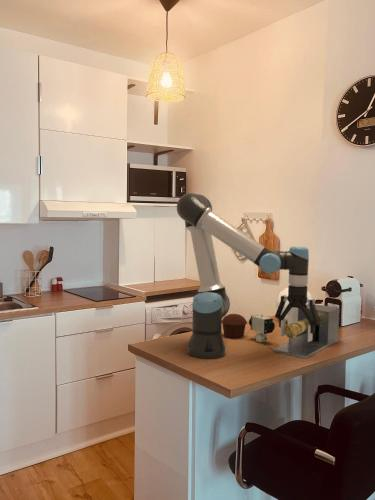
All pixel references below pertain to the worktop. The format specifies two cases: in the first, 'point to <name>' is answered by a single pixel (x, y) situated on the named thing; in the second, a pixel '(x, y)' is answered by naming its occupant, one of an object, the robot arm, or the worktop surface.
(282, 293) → the ball
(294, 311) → the milk bottle
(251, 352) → the worktop surface
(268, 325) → the pneumatic valve
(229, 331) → the muffin
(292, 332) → the golden cylinder
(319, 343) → the housing
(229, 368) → the worktop surface
